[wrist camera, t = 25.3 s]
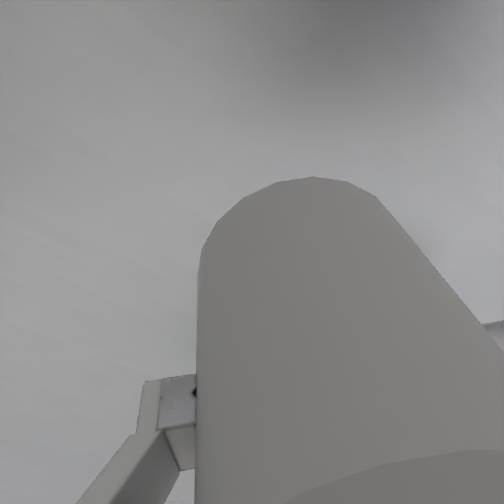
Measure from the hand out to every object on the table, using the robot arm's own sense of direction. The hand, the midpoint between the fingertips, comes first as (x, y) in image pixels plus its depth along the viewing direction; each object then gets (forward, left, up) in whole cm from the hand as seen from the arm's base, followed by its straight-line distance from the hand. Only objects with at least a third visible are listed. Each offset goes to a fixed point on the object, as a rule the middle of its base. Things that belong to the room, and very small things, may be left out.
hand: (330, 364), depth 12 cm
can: (0, 0, -5) cm, 5 cm away
